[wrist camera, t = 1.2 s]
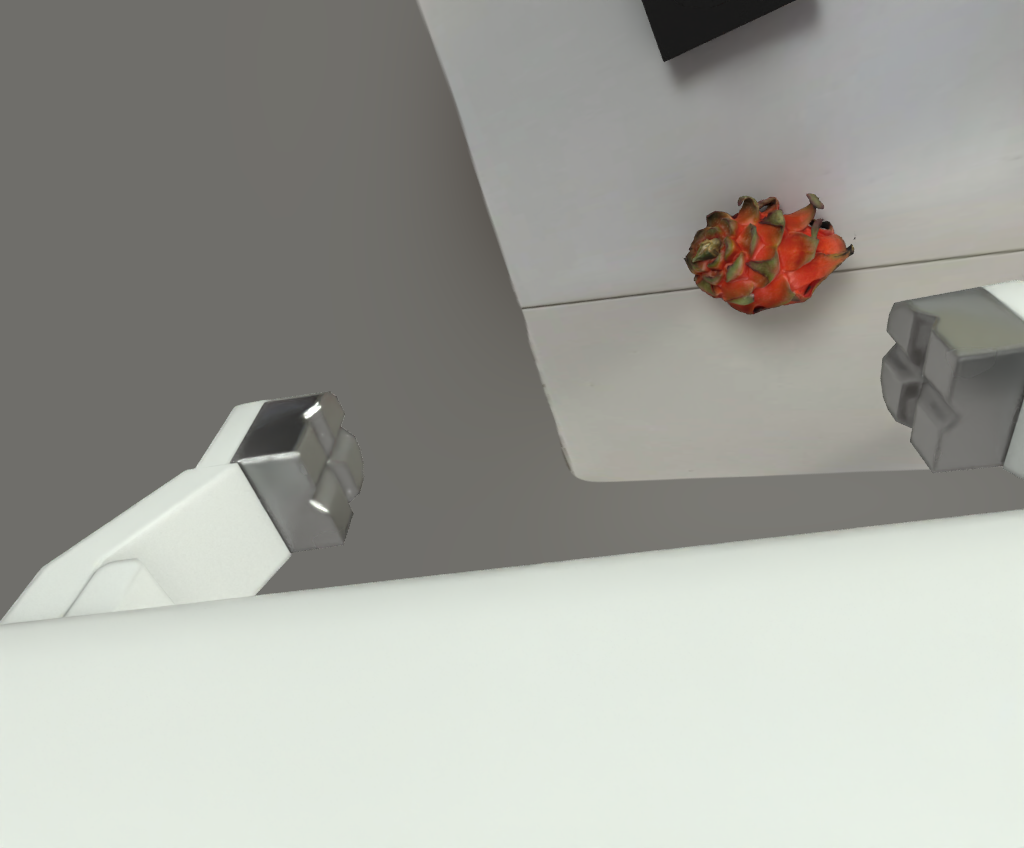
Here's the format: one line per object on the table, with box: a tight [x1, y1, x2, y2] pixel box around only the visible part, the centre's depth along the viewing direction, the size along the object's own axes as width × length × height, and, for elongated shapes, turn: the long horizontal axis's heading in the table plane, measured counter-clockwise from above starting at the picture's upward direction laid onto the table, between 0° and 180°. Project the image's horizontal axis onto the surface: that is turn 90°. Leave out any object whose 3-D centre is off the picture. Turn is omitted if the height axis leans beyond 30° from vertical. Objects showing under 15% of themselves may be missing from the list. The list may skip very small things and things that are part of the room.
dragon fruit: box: [684, 194, 855, 315], centre depth 50 cm, size 8×8×12 cm
